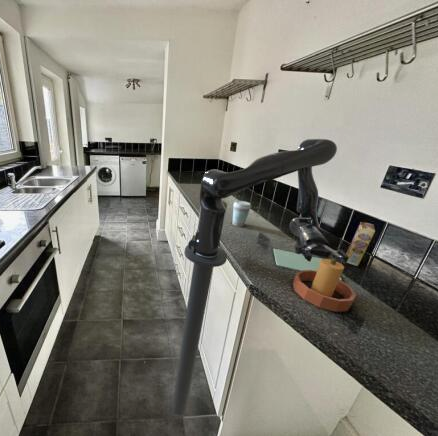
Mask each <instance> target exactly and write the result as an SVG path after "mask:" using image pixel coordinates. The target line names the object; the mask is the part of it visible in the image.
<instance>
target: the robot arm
mask: <svg viewBox="0 0 438 436" xmlns="http://www.w3.org/2000/svg"><path fill="white" fill-rule="evenodd" d="M337 151H338V147H337V144H336V143H335V142H334V141H333V140H331V139H327V138H307V139H305V140H303V141H302V142H300V144H299V145H298V148H297V149H295V150H293V149H292V150H285V151H279V152H278V151H277V152H273V153H269V154H267V155H264V156H260V157H258V158H256V159H255V160H254V161H252V162H251V163H250V164H249V165H248V166H246V167H245V168H243V169H239V170H235V171H230V172H226V171H223V170H219V169H213V168H212V169H210V170H207V171H206V172H205V173H204V174H203V177H202V179H201V183H200V190H199V198H198V199H199V200H198V201H199V202H198V203H199V206H200V207H199V208H200V209H199V215H198V222H197V228H196V231H195V234H193V236H192V237H191V239H190V240H189V241H188V243H187V245H188V247H189V249H192V248H191V246H192V247H194V249H193V253H194V254H196V255H198V256H200V257H203V258H215V257H216V256H217V254H218V248H220V246H221V243H220V241H221V237H222V232H223V226H224V221H225V216H226V211H227V210H226V209H227V208H226V206H225V205H224V202H223V199H227V198H229V197H231V196H233V195H235V194H237V193H239V192H242V191H244V190H247V189H248V188H252V187H254V186H258V185H261V184H263V183H266V182H270V181H273V180H277V179H279V178H281V177H284V176H286V175H290V174H292V173H295V172H297V178H298V182H297V183H298V192H297V201H296V212H297V213H298V214H301V215H303V216H304V215H305V216H307V217H294V218H292V219H291V220H290V222H289V225H288V226H289V230H290V232H291V233H292V234H293V235H294V236H296V237H298V239H299V240H296V241H295V244H294V251H295V253H296V254H302V255H303V256H304V258H305V259H307V261H309V262H310V261H311V259H312V257H313V256H314V257H320V258H323V259H330V260H332V258H334V259H336V260H337V262H338V263H340V264H342V265H343V266H344V268H345V267H346V265H347V264H348V263H347V261H348V259H349V257H348V256H347V255H346V253H347V252H345V251H344V250H343V249H341V248H337V250H335V249H333V248H332V247H330V244H329V241H328V240H327V239H326V237H325V236H324V234H323V233H322V232H321V231H319V230H320V225H319V220H318V214H317V213H318V212H317V211H318V209H317V208H318V202H319V189H318V187H317V184H316V181H315V179H314V175H313V167H317V166H322V165H325V164H327V163H329V162H330V161H331V160H332V159H333V158H335V156H336V154H337Z"/></svg>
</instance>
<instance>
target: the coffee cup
mask: <svg viewBox="0 0 438 436" xmlns="http://www.w3.org/2000/svg"><path fill="white" fill-rule="evenodd" d="M232 205H233V209H232V223H231V224H232V225H233V226H235V227H244V226H245V223H246V221H247V218H248V215H249V213H250V210H251V209H252V204H251V203H250V202H248V201H245V200H235V201H234V203H233V204H232Z"/></svg>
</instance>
